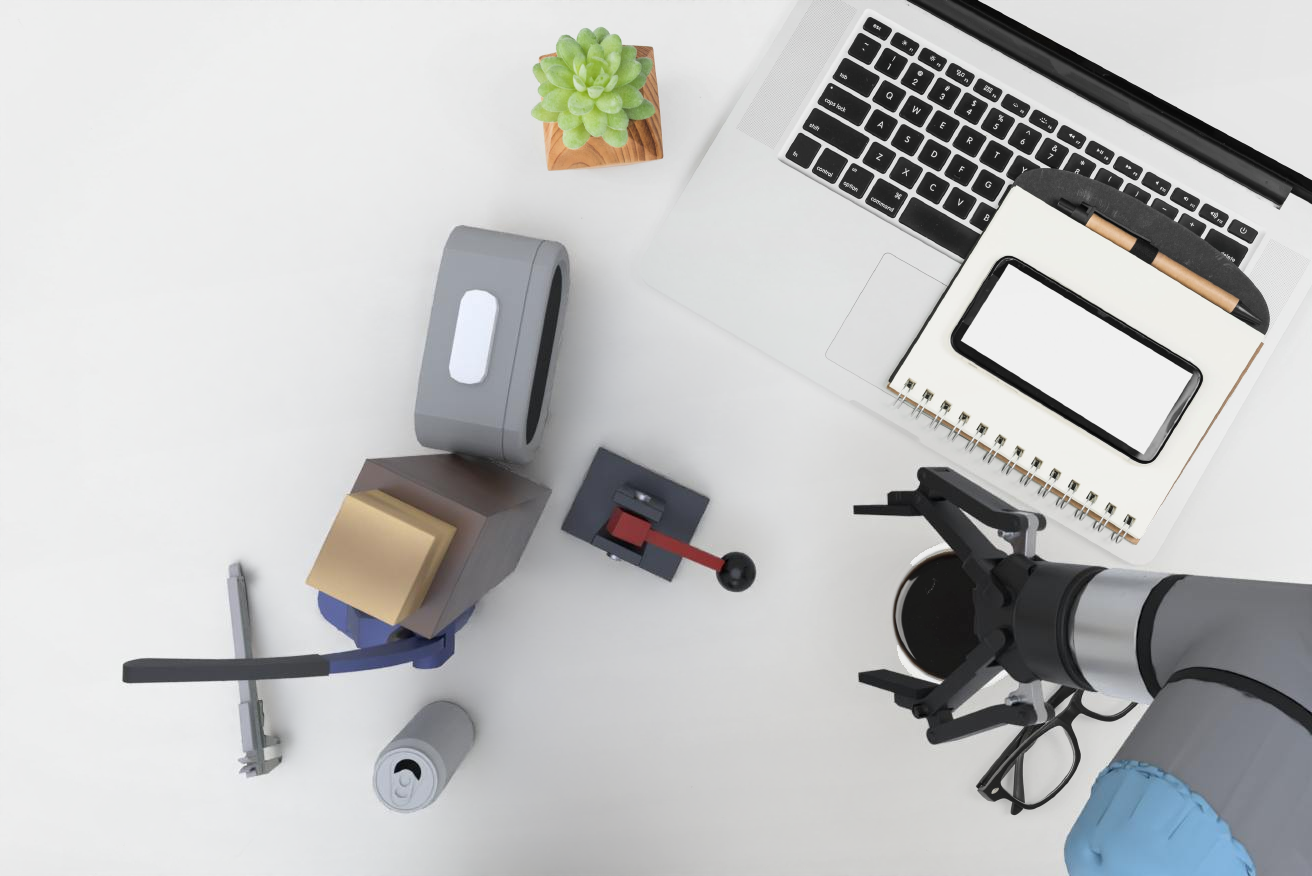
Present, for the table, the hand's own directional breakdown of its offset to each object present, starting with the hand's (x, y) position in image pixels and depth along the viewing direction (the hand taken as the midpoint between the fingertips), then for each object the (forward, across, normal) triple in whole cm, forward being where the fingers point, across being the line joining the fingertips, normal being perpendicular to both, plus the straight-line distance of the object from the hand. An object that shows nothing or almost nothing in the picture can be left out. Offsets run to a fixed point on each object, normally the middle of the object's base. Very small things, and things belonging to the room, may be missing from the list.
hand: (868, 591), depth 68 cm
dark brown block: (+27, +7, +24) cm, 37 cm away
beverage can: (+31, -15, +28) cm, 45 cm away
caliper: (+40, -8, +45) cm, 60 cm away
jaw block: (+3, +5, +37) cm, 38 cm away
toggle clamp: (+21, +6, +12) cm, 25 cm away
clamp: (+33, -2, +33) cm, 46 cm away
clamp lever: (+11, +4, +12) cm, 17 cm away
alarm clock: (+26, +22, +23) cm, 41 cm away
